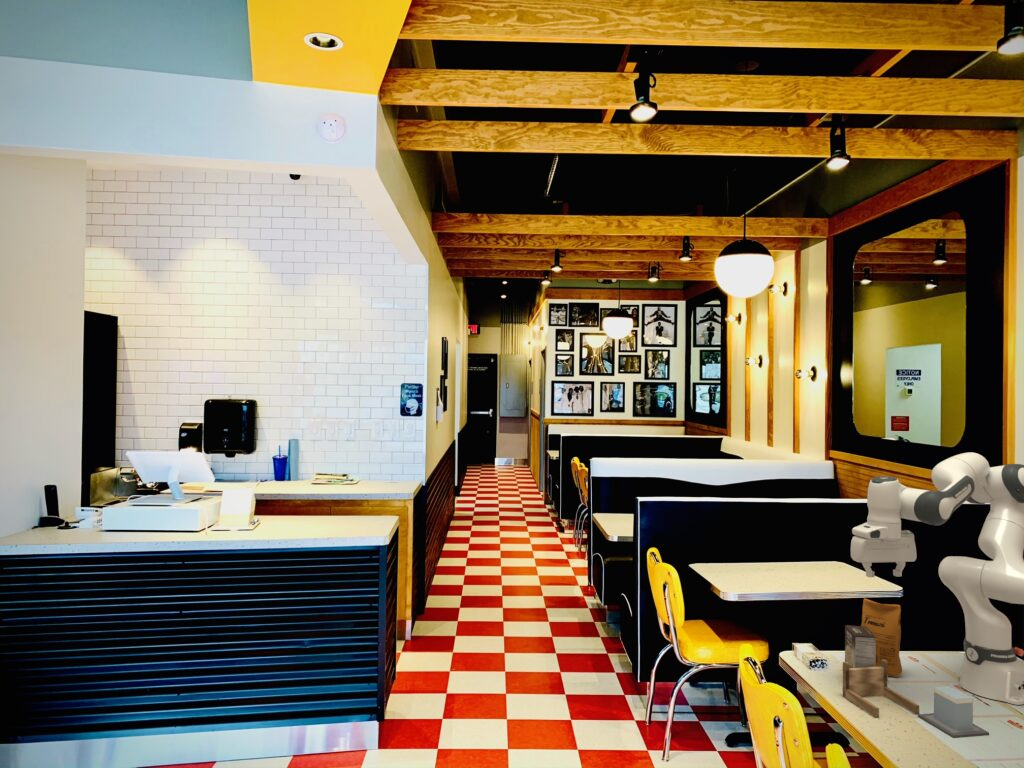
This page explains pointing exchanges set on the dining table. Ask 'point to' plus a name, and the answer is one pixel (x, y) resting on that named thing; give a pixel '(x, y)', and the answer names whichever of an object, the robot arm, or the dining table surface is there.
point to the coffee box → (860, 647)
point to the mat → (949, 730)
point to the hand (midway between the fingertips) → (883, 576)
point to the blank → (953, 708)
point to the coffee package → (884, 633)
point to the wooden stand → (871, 688)
